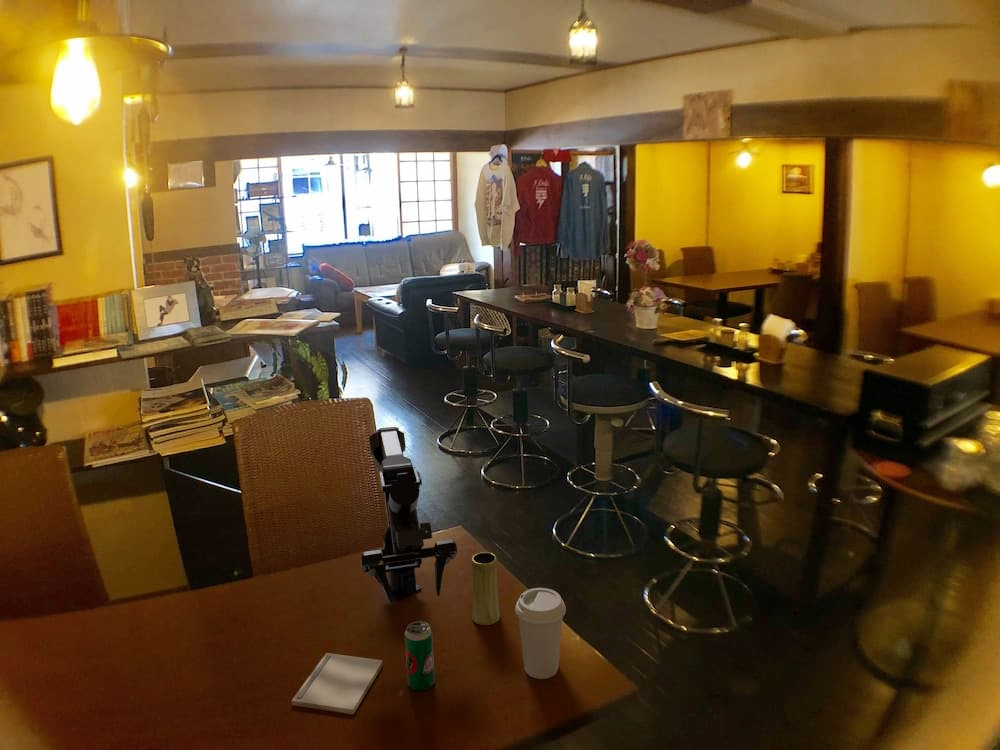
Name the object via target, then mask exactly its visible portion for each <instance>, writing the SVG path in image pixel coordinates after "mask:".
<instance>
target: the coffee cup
mask: <svg viewBox="0 0 1000 750" xmlns="http://www.w3.org/2000/svg"><path fill="white" fill-rule="evenodd" d="M514 611H515V614H516V615H517V618H518V623H519V624H518V626H519V633H520V634H519V635H520V641H521V651H522V659H523V667H524V672H525V673H526V674H527V675H528V676H529V677H531V678H534V679H538V680H545V679H549V678H552V677H554V676H555V675H557V672H558V671H559V662H560V653H561V652H560V651H561V641H562V640H561V638H562V632H563V631H562V630H563V619H564V616H565V614H566V611H567V608H566V604H565V602H564V600H563V599H562V597H561V595H560V594H559V593H558V592H557V591H555V590H553V589H550V588H547V587H534V588H529V589H527V590H525V591H524V592H522V593H521V594H520V596H519V598H518V600H517V602H516V604H515V608H514Z"/></svg>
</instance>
